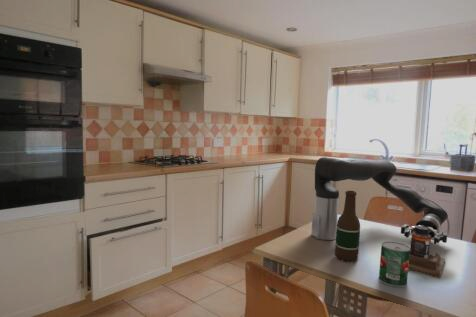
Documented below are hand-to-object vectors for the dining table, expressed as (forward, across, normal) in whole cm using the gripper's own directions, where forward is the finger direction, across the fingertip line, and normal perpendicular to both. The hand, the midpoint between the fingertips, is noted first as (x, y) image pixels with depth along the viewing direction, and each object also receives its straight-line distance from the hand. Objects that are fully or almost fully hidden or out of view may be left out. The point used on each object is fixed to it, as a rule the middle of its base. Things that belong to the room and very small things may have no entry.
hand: (420, 237), depth 113 cm
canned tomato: (+19, -4, +10) cm, 22 cm away
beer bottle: (+12, -21, +10) cm, 26 cm away
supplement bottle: (-1, 0, +8) cm, 8 cm away
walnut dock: (-1, 0, +10) cm, 10 cm away
